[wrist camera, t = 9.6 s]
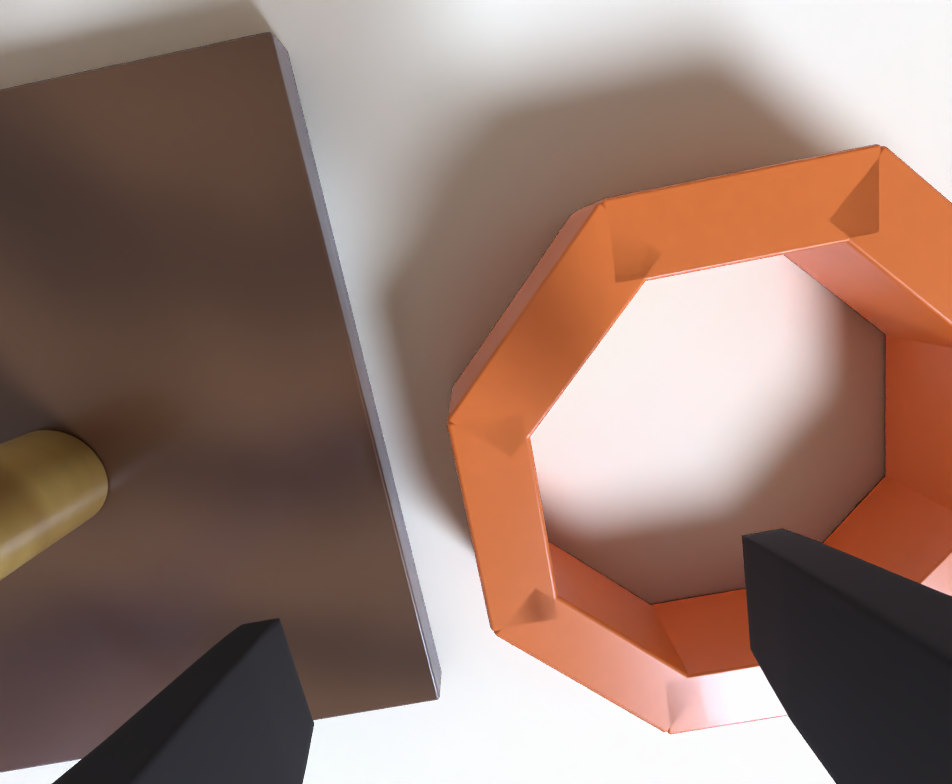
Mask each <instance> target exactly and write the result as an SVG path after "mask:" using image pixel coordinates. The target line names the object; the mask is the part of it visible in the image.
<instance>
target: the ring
mask: <svg viewBox="0 0 952 784" xmlns="http://www.w3.org/2000/svg"><path fill="white" fill-rule="evenodd" d="M782 254H784V255H785V256H786V257H787V258H789V259H790V260H791V261H793V262H794V263H795V264H796V265H798V266H799V267H800V268H802V269H803V270H804V271H805V272H807V273H808V274H809V275H810V276H812V277H813V278H814V279H816V280H817V281H818V282H819V283H821V284H822V285H823V286H825V287H826V288H827V289H828V290H830V291H831V292H832V293H833V294H835V295H836V296H837V297H839V298H840V299H841V300H842V301H844V302H845V303H846V304H847V305H849V306H850V307H851V308H853V309H854V310H855V311H856V312H858V313H859V314H860V315H862V316H863V317H864V318H865V319H867V320H868V321H869V322H870V323H872V324H873V325H874V326H876V327H877V328H878V329H879V330H881V331H882V332H883V333H884V334H886V476H885V477H884V478H883V479H882V480H881V481H880V482H879V483H878V484H877V485H876V487H875V488H874V489H873V490H872V491H871V492H870V493H869V494H868V495H867V496H866V497H865V498H864V499H863V501H862V502H861V503H860V504H859V505H858V506H857V507H856V508H855V509H854V510H853V511H852V512H851V513H850V515H849V516H848V517H847V518H846V519H845V520H844V521H843V522H842V523H841V524H840V525H839V526H838V527H837V529H836V530H835V531H834V532H833V533H832V534H831V535H830V536H829V537H828V538H827V539H826V540H825V541H824V543H823V544H826V545H828V546H831V547H833V548H835V549H838V550H840V551H843V552H845V553H848V554H850V555H852V556H855V557H857V558H860V559H862V560H864V561H867V562H869V563H872V564H874V565H876V566H879V567H881V568H884V569H886V570H888V571H891V572H893V573H896V574H898V575H900V576H903V577H905V578H908V579H910V580H913V581H915V582H917V583H920V584H922V585H925V586H927V587H930V588H932V589H935V590H937V591H940V592H942V593H945V594H947V595H950V596H952V203H951V202H950V201H949V200H948V199H946V198H945V197H944V196H943V195H942V194H941V193H939V192H938V191H937V190H936V189H935V188H934V187H932V186H931V185H930V184H929V183H928V182H927V181H925V180H924V179H923V178H922V177H921V176H920V175H918V174H917V173H916V172H915V171H914V170H913V169H911V168H910V167H909V166H908V165H907V164H906V163H904V162H903V161H902V160H901V159H900V158H899V157H897V156H896V155H895V154H894V153H893V152H892V151H890V150H889V149H888V148H887V147H885V146H880V145H877V144H874V145H869V146H864V147H859V148H854V149H849V150H844V151H839V152H834V153H829V154H824V155H819V156H814V157H809V158H804V159H799V160H794V161H789V162H784V163H779V164H774V165H769V166H764V167H759V168H754V169H749V170H744V171H739V172H734V173H729V174H724V175H719V176H714V177H709V178H704V179H699V180H694V181H689V182H684V183H679V184H674V185H669V186H664V187H659V188H654V189H649V190H644V191H639V192H634V193H629V194H624V195H619V196H614V197H609V198H604V199H602V200H600V201H597V202H595V203H593V204H591V205H588V206H586V207H584V208H581V209H579V210H577V211H576V212H575V213H573V214H571V215H570V217H569V218H568V220H567V221H566V223H565V224H564V226H563V227H562V229H561V230H560V231H559V233H558V234H557V236H556V237H555V239H554V240H553V242H552V243H551V245H550V246H549V247H548V249H547V250H546V252H545V253H544V255H543V256H542V258H541V259H540V261H539V262H538V263H537V265H536V266H535V268H534V269H533V271H532V272H531V274H530V275H529V277H528V278H527V279H526V281H525V282H524V284H523V285H522V287H521V288H520V290H519V291H518V293H517V294H516V295H515V297H514V298H513V300H512V301H511V303H510V304H509V306H508V307H507V309H506V310H505V312H504V313H503V314H502V316H501V317H500V319H499V320H498V322H497V323H496V325H495V326H494V328H493V329H492V330H491V332H490V333H489V335H488V336H487V338H486V339H485V341H484V342H483V344H482V345H481V346H480V348H479V349H478V351H477V352H476V354H475V355H474V357H473V358H472V360H471V361H470V362H469V364H468V365H467V367H466V368H465V370H464V371H463V373H462V374H461V376H460V377H459V378H458V380H457V381H456V383H455V384H454V386H453V387H452V394H451V401H450V408H449V415H448V423H447V428H448V432H449V437H450V442H451V446H452V451H453V456H454V460H455V465H456V470H457V474H458V479H459V484H460V488H461V493H462V498H463V502H464V507H465V511H466V516H467V521H468V525H469V530H470V535H471V539H472V544H473V549H474V553H475V558H476V563H477V567H478V572H479V577H480V581H481V586H482V591H483V595H484V600H485V605H486V609H487V614H488V618H489V623H490V627H491V629H492V630H493V631H494V633H495V634H496V635H497V636H498V637H500V638H502V639H504V640H505V641H507V642H509V643H511V644H512V645H514V646H516V647H517V648H519V649H521V650H523V651H524V652H526V653H528V654H530V655H531V656H533V657H535V658H537V659H538V660H540V661H542V662H543V663H545V664H547V665H549V666H550V667H552V668H554V669H556V670H557V671H559V672H561V673H563V674H564V675H566V676H568V677H569V678H571V679H573V680H575V681H576V682H578V683H580V684H582V685H583V686H585V687H587V688H589V689H590V690H592V691H594V692H595V693H597V694H599V695H601V696H602V697H604V698H606V699H608V700H609V701H611V702H613V703H615V704H616V705H618V706H620V707H621V708H623V709H625V710H627V711H628V712H630V713H632V714H634V715H635V716H637V717H639V718H641V719H642V720H644V721H646V722H647V723H649V724H651V725H653V726H654V727H656V728H658V729H660V730H661V731H663V732H668V733H669V734H675V733H681V732H687V731H693V730H699V729H705V728H712V727H718V726H724V725H730V724H736V723H742V722H749V721H755V720H761V719H767V718H773V717H780V716H786V715H787V713H786V711H785V710H784V708H783V706H782V704H781V703H780V701H779V699H778V698H777V696H776V694H775V692H774V691H773V689H772V687H771V686H770V684H769V682H768V680H767V678H766V677H765V675H764V673H763V671H762V669H761V668H760V666H759V664H758V662H757V660H756V659H755V657H754V655H753V653H752V651H751V649H750V637H749V624H748V610H747V597H746V589H741V590H735V591H729V592H723V593H717V594H711V595H706V596H700V597H694V598H688V599H682V600H676V601H671V602H665V603H659V604H653V605H650V604H649V603H647V602H645V601H644V600H642V599H641V598H639V597H637V596H636V595H634V594H633V593H631V592H629V591H628V590H626V589H625V588H623V587H621V586H620V585H618V584H616V583H615V582H613V581H612V580H610V579H608V578H607V577H605V576H604V575H602V574H600V573H599V572H597V571H595V570H594V569H592V568H591V567H589V566H587V565H586V564H584V563H583V562H581V561H579V560H578V559H576V558H575V557H573V556H571V555H570V554H568V553H566V552H565V551H563V550H562V549H560V548H558V547H557V546H555V545H554V544H552V543H550V542H549V541H548V537H547V531H546V526H545V520H544V514H543V509H542V503H541V497H540V491H539V486H538V480H537V474H536V469H535V463H534V457H533V451H532V446H531V440H530V436H531V435H532V433H533V432H534V431H535V429H536V428H537V427H538V425H539V424H540V423H541V421H542V420H543V418H544V417H545V416H546V414H547V413H548V412H549V410H550V409H551V408H552V406H553V405H554V404H555V402H556V401H557V400H558V398H559V397H560V395H561V394H562V393H563V391H564V390H565V389H566V387H567V386H568V385H569V383H570V382H571V381H572V379H573V378H574V377H575V375H576V374H577V373H578V371H579V370H580V368H581V367H582V366H583V364H584V363H585V362H586V360H587V359H588V358H589V356H590V355H591V354H592V352H593V351H594V350H595V348H596V347H597V346H598V344H599V343H600V341H601V340H602V339H603V337H604V336H605V335H606V333H607V332H608V331H609V329H610V328H611V327H612V325H613V324H614V323H615V321H616V320H617V319H618V317H619V316H620V314H621V313H622V312H623V310H624V309H625V308H626V306H627V305H628V304H629V302H630V301H631V300H632V298H633V297H634V296H635V294H636V293H637V291H638V290H639V289H640V287H641V286H642V285H643V283H644V282H645V281H648V280H653V279H658V278H663V277H668V276H674V275H679V274H684V273H689V272H694V271H700V270H705V269H710V268H715V267H720V266H725V265H731V264H736V263H741V262H746V261H751V260H756V259H762V258H767V257H772V256H777V255H782Z"/></svg>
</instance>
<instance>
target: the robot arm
mask: <svg viewBox="0 0 952 784" xmlns="http://www.w3.org/2000/svg"><path fill="white" fill-rule="evenodd" d="M742 542H743V556H744V570H745V583H746V597H747V610H748V624H749V637H750V649H751V651H752V653H753V655H754V657H755V659H756V660H757V662H758V664H759V666H760V668H761V669H762V671H763V673H764V675H765V677H766V678H767V680H768V682H769V684H770V686H771V687H772V689H773V691H774V692H775V694H776V696H777V698H778V699H779V701H780V703H781V704H782V706H783V708H784V710H785V711H786V713H787V715H788V716H789V718H790V719H791V721H792V722H793V724H794V725H795V726H796V728H797V729H798V731H799V732H800V734H801V735H802V736H803V738H804V739H805V741H806V742H807V743H808V745H809V746H810V748H811V749H812V750H813V752H814V753H815V755H816V756H817V757H818V759H819V760H820V762H821V763H822V764H823V766H824V767H825V769H826V770H827V771H828V773H829V774H830V775H831V777H832V778H833V780H834V781H835V782H836V784H952V596H950V595H947V594H945V593H942V592H940V591H937V590H935V589H932V588H930V587H927V586H925V585H922V584H920V583H917V582H915V581H913V580H910V579H908V578H905V577H903V576H900V575H898V574H896V573H893V572H891V571H888V570H886V569H884V568H881V567H879V566H876V565H874V564H872V563H869V562H867V561H864V560H862V559H860V558H857V557H855V556H852V555H850V554H848V553H845V552H843V551H840V550H838V549H835V548H833V547H831V546H828V545H826V544H823V543H821V542H818V541H816V540H813V539H811V538H808V537H805V536H803V535H800V534H797V533H794V532H791V531H789V530H786V529H777V530H771V531H766V532H760V533H754V534H749V535H743V536H742ZM313 727H314V722H313V719H312V716H311V713H310V710H309V707H308V704H307V701H306V698H305V695H304V692H303V688H302V685H301V682H300V679H299V676H298V673H297V670H296V667H295V664H294V661H293V658H292V655H291V652H290V649H289V646H288V643H287V640H286V637H285V634H284V631H283V627H282V624H281V621H280V618H275V619H269V620H264V621H258V622H253V623H247V624H242V625H240V626H239V627H237V628H236V629H235V630H233V631H232V632H231V633H229V634H228V635H227V636H225V637H224V638H223V639H222V640H220V641H219V642H218V643H217V644H216V645H214V646H213V647H212V648H211V649H210V650H208V651H207V652H206V653H205V654H204V655H203V656H201V657H200V658H199V659H198V660H197V661H196V662H194V663H193V664H192V665H191V666H190V667H189V668H187V669H186V670H185V671H184V672H183V673H182V674H181V675H179V676H178V677H177V678H176V679H175V680H174V681H173V682H171V683H170V684H169V685H168V686H167V687H166V688H164V689H163V690H162V691H161V692H160V693H159V694H158V695H156V696H155V697H154V698H153V699H152V700H151V701H149V702H148V703H147V704H146V705H145V706H144V707H143V708H141V709H140V710H139V711H138V712H137V713H136V714H135V715H133V716H132V717H131V718H130V719H129V720H128V721H126V722H125V723H124V724H123V725H122V726H121V727H120V728H118V729H117V730H116V731H115V732H114V733H113V734H111V735H110V736H109V737H108V738H107V739H106V740H104V741H103V742H102V743H101V744H100V745H98V746H97V747H96V748H95V749H94V750H92V751H91V752H90V753H89V754H88V755H86V756H85V757H84V758H83V759H81V760H80V761H79V762H78V763H77V764H75V765H74V766H73V767H72V768H71V769H69V770H68V771H67V772H66V773H65V774H63V775H62V776H61V777H60V778H58V779H57V780H56V781H55V782H54V783H52V784H302V783H303V778H304V774H305V769H306V764H307V759H308V754H309V748H310V743H311V737H312V732H313Z"/></svg>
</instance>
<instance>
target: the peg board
mask: <svg viewBox="0 0 952 784" xmlns="http://www.w3.org/2000/svg"><path fill="white" fill-rule="evenodd" d="M275 618H280V621H281V624H282V627H283V631H284V634H285V637H286V640H287V643H288V646H289V649H290V652H291V655H292V658H293V661H294V664H295V667H296V670H297V673H298V676H299V679H300V682H301V685H302V688H303V692H304V695H305V698H306V701H307V704H308V707H309V710H310V713H311V716H312V719H313V720H318V719H324V718H330V717H336V716H342V715H348V714H354V713H360V712H366V711H372V710H378V709H384V708H390V707H396V706H402V705H408V704H414V703H420V702H426V701H432V700H438V699H439V697H440V684H441V668H440V664H439V660H438V656H437V652H436V648H435V644H434V640H433V636H432V632H431V628H430V624H429V620H428V616H427V612H426V608H425V604H424V600H423V596H422V592H421V588H420V584H419V580H418V576H417V572H416V568H415V563H414V559H413V555H412V551H411V547H410V543H409V539H408V535H407V531H406V527H405V523H404V519H403V515H402V511H401V507H400V503H399V499H398V495H397V491H396V487H395V483H394V479H393V475H392V471H391V467H390V463H389V459H388V455H387V451H386V447H385V442H384V438H383V434H382V430H381V426H380V422H379V418H378V414H377V410H376V406H375V402H374V398H373V394H372V390H371V386H370V382H369V378H368V374H367V370H366V366H365V362H364V358H363V354H362V350H361V346H360V342H359V338H358V334H357V330H356V325H355V321H354V317H353V313H352V309H351V305H350V301H349V297H348V293H347V289H346V285H345V281H344V277H343V273H342V269H341V265H340V261H339V257H338V253H337V249H336V245H335V241H334V237H333V233H332V229H331V225H330V221H329V217H328V213H327V209H326V204H325V200H324V196H323V192H322V188H321V184H320V180H319V176H318V172H317V168H316V164H315V160H314V156H313V152H312V148H311V144H310V140H309V136H308V132H307V128H306V124H305V120H304V116H303V112H302V108H301V104H300V100H299V96H298V92H297V88H296V83H295V79H294V75H293V71H292V67H291V63H290V59H289V55H288V52H287V50H286V49H285V48H284V47H283V45H282V44H281V43H280V42H279V41H278V40H277V39H276V37H275V36H274V35H273V34H272V33H271V32H265V33H261V34H256V35H251V36H247V37H242V38H238V39H233V40H228V41H224V42H219V43H214V44H210V45H205V46H200V47H196V48H191V49H187V50H182V51H177V52H173V53H168V54H163V55H159V56H154V57H150V58H145V59H140V60H136V61H131V62H126V63H122V64H117V65H112V66H108V67H103V68H99V69H94V70H89V71H85V72H80V73H75V74H71V75H66V76H61V77H57V78H52V79H48V80H43V81H38V82H34V83H29V84H24V85H20V86H15V87H11V88H6V89H1V90H0V772H6V771H12V770H18V769H24V768H30V767H36V766H42V765H48V764H54V763H60V762H66V761H72V760H78V759H83V758H84V757H85V756H86V755H88V754H89V753H90V752H91V751H92V750H94V749H95V748H96V747H97V746H98V745H100V744H101V743H102V742H103V741H104V740H106V739H107V738H108V737H109V736H110V735H111V734H113V733H114V732H115V731H116V730H117V729H118V728H120V727H121V726H122V725H123V724H124V723H125V722H126V721H128V720H129V719H130V718H131V717H132V716H133V715H135V714H136V713H137V712H138V711H139V710H140V709H141V708H143V707H144V706H145V705H146V704H147V703H148V702H149V701H151V700H152V699H153V698H154V697H155V696H156V695H158V694H159V693H160V692H161V691H162V690H163V689H164V688H166V687H167V686H168V685H169V684H170V683H171V682H173V681H174V680H175V679H176V678H177V677H178V676H179V675H181V674H182V673H183V672H184V671H185V670H186V669H187V668H189V667H190V666H191V665H192V664H193V663H194V662H196V661H197V660H198V659H199V658H200V657H201V656H203V655H204V654H205V653H206V652H207V651H208V650H210V649H211V648H212V647H213V646H214V645H216V644H217V643H218V642H219V641H220V640H222V639H223V638H224V637H225V636H227V635H228V634H229V633H231V632H232V631H233V630H235V629H236V628H237V627H239V626H240V625H242V624H247V623H253V622H258V621H264V620H269V619H275Z"/></svg>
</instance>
